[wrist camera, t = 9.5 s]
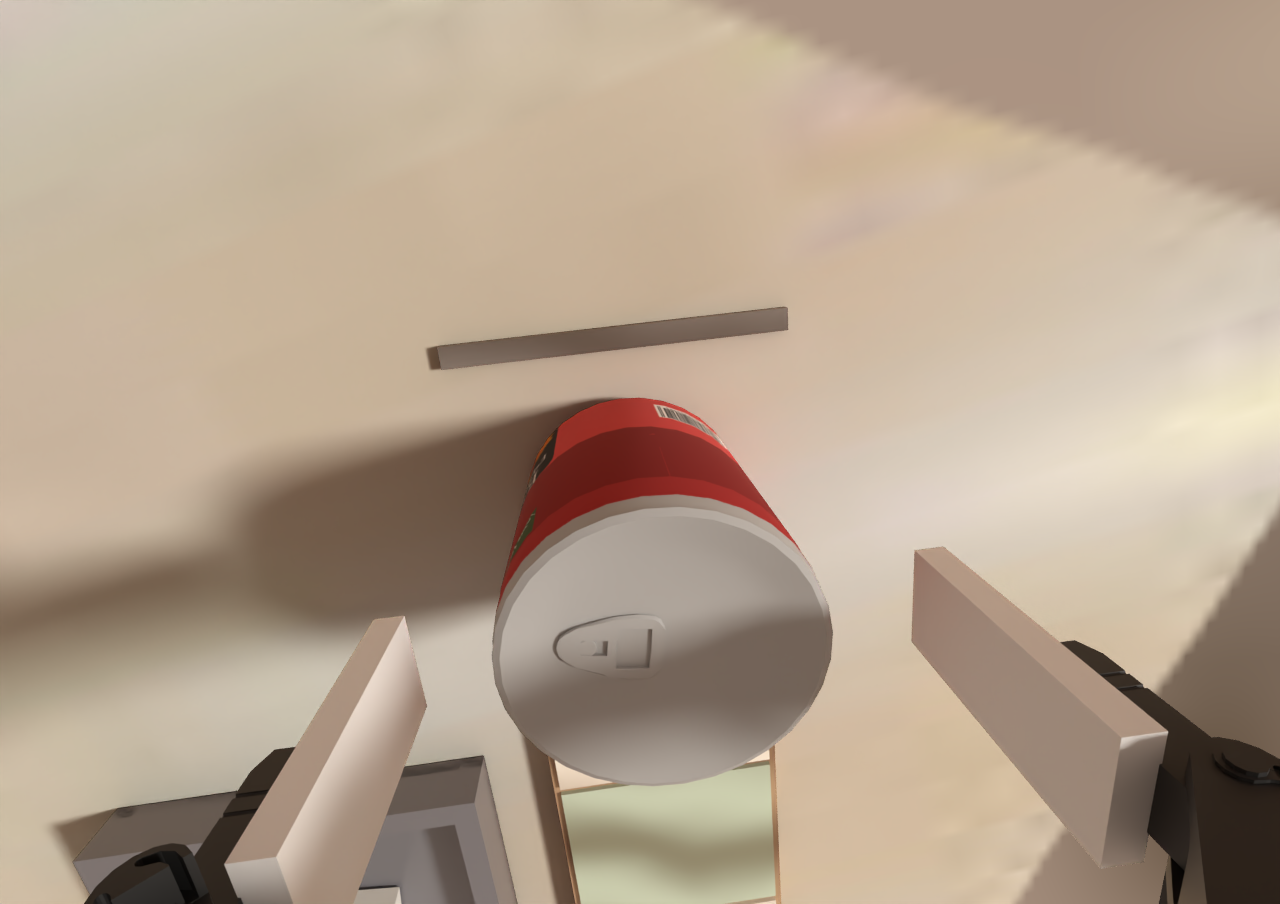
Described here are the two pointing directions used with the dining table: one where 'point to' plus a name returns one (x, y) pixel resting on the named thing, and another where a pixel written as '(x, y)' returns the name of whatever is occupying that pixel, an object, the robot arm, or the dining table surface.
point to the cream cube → (378, 896)
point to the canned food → (654, 604)
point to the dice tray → (403, 854)
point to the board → (669, 814)
